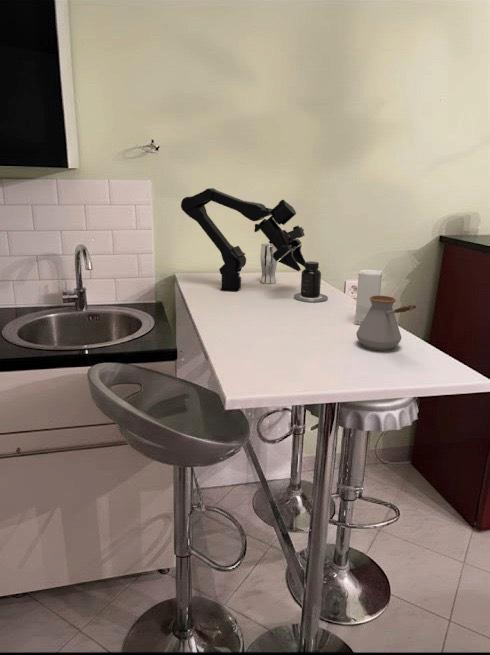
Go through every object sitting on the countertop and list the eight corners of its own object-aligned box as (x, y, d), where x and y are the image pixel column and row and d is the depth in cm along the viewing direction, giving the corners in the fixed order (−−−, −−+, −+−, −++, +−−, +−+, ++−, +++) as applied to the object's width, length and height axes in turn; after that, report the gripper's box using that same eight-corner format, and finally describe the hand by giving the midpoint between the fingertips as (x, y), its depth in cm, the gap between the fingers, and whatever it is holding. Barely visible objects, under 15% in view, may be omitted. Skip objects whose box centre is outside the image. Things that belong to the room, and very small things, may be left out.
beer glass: (257, 280, 206) (258, 243, 202) (273, 280, 208) (274, 243, 204) (262, 284, 200) (264, 246, 196) (279, 284, 202) (281, 245, 198)
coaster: (292, 301, 177) (292, 299, 177) (295, 293, 188) (295, 291, 188) (327, 303, 175) (327, 301, 175) (328, 295, 186) (328, 293, 186)
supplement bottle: (310, 292, 186) (312, 260, 183) (323, 296, 181) (326, 263, 177) (296, 295, 182) (298, 261, 179) (309, 299, 177) (311, 265, 173)
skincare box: (375, 327, 151) (381, 275, 146) (352, 324, 153) (357, 272, 148) (378, 319, 158) (383, 269, 153) (356, 317, 160) (361, 267, 155)
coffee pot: (348, 339, 139) (353, 285, 134) (387, 337, 141) (393, 284, 137) (385, 369, 119) (393, 307, 115) (430, 366, 122) (439, 305, 117)
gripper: (284, 220, 168) (314, 257, 168) (297, 216, 184) (325, 249, 185) (260, 242, 172) (289, 278, 173) (275, 236, 189) (302, 268, 189)
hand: (302, 268), depth 180 cm, fingers open, 9 cm apart
